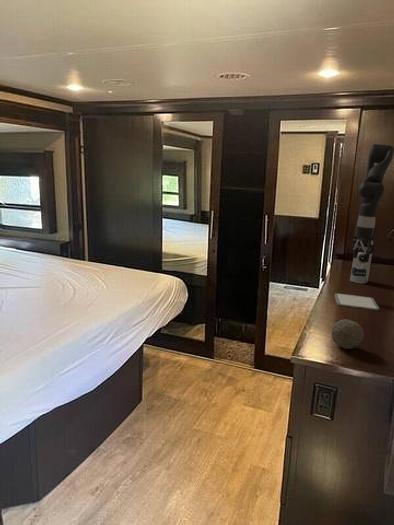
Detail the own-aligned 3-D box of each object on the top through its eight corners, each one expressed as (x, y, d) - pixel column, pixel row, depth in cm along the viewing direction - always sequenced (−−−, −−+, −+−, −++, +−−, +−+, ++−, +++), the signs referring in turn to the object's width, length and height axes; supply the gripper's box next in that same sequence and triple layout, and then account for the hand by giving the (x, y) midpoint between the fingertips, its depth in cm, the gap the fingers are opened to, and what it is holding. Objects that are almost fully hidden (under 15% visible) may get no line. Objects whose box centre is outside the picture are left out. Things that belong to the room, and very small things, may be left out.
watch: (354, 276, 186) (357, 253, 183) (350, 272, 194) (353, 250, 191) (366, 277, 185) (370, 254, 183) (362, 273, 193) (365, 251, 190)
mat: (334, 294, 198) (334, 292, 198) (372, 298, 194) (372, 297, 194) (337, 305, 181) (338, 304, 181) (379, 310, 177) (380, 309, 177)
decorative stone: (329, 349, 135) (333, 322, 132) (330, 340, 142) (334, 314, 140) (361, 356, 131) (366, 328, 129) (360, 346, 139) (365, 319, 137)
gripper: (382, 228, 178) (376, 263, 182) (364, 224, 192) (358, 256, 195) (367, 227, 177) (361, 263, 180) (350, 223, 190) (345, 256, 194)
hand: (360, 259), depth 188 cm, fingers closed on watch, 8 cm apart
